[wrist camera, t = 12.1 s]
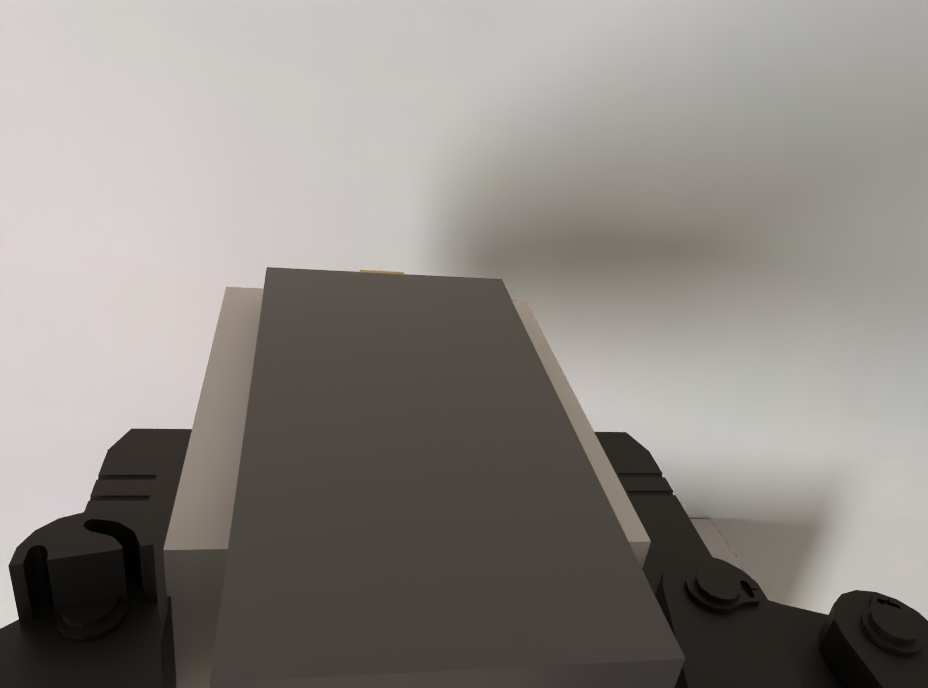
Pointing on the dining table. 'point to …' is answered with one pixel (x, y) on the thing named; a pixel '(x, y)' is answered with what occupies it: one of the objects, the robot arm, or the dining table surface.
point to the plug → (421, 504)
